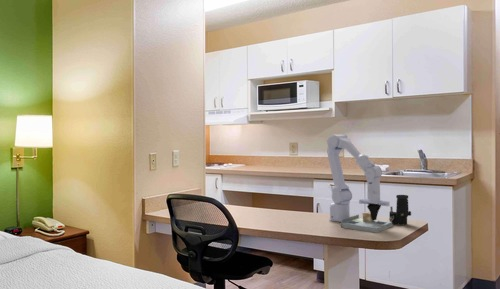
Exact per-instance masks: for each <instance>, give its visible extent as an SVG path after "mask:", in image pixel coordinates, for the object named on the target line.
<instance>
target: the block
mask: <svg viewBox="0 0 500 289" xmlns="http://www.w3.org/2000/svg"><path fill="white" fill-rule="evenodd" d="M362 218H363V221H365V222H372V221H375V220H372V216H371V213H370V211H365V212H362Z"/></svg>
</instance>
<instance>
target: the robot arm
mask: <svg viewBox="0 0 500 289" xmlns="http://www.w3.org/2000/svg"><path fill="white" fill-rule="evenodd" d="M326 142H327V151H326V152H327V158H328V162H329V163H328V164H329V167H330V171H331V176H332V181H333V185H334V186H332V189H331V199H332V202H331V204H330V206H329V219H328V220H329V221H332V222H338V223H339V222H340V223H341V220H342V219H345V218H348V217H351V214H350V203H351V201H352V198H353V193H352V191H351V190H350V187H349V185H348V184H346V181H345V178H344V177H345V176H344V174H343V168H342V164H341V160H340V159H341V158H340V153H341V151H342V150H343V149H344V150H346V151H347V152H348V153H349V154H350V155H351V156H352V157H353V158H354V159H355V163H356V164H357V165H358V166H359V168H360V169H361V170H363V172H364V176H365V177H366V182H367V184H366V185H367V188H366V189H367V198H366V199H364V198H362V199H361V198H360V199H358V203H359V204H361V205H362V204H364V205H367V206H366V207H367V209H368V212H370V213H371V216H372V220H377V217H378V214H379V211H380V209H381V208H382V206H383V207H391V206H390V201H387V200H381V186H380V185H381V176H382V174H383V170H382V168H381V166H379V165H376V164H375V163H374V162H372V160H370V158H369V156H368V155H365V154H362V153H361V152H360V150H358V148H357V147H356V146H355V145H354V144H353V143H352V141H351V138H349V137H348V136H347V135H346V134H343V133H342V134H331V135H330V136H329V137H328V139H327V140H326Z"/></svg>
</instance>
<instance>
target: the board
mask: <svg viewBox="0 0 500 289" xmlns="http://www.w3.org/2000/svg"><path fill="white" fill-rule="evenodd" d="M340 223H341V225H340V226H341V228H344V229H349V230H351V229H352V230H357V231H363V232H370V233H376V234H377V233H379V232H381V231H384V230H387V229H389V228H391V227H393V224H392V222H390V220H389V221H388V220H379V219H376V220H375V221H372V222H365V221H363V217H360V216H359V214H355V215H352V216H351V215H350V217H348V218H345V219H342V220H341V222H340Z"/></svg>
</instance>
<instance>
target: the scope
mask: <svg viewBox="0 0 500 289" xmlns="http://www.w3.org/2000/svg"><path fill="white" fill-rule="evenodd" d="M389 207H390V211H389V219H388V220H389V222H392V225H398V226H399V225H401V226H406V225H408V217H409V216H412V211H411V210H409V195H407V194H397V195H396V210H395V211H393V206H389Z"/></svg>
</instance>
